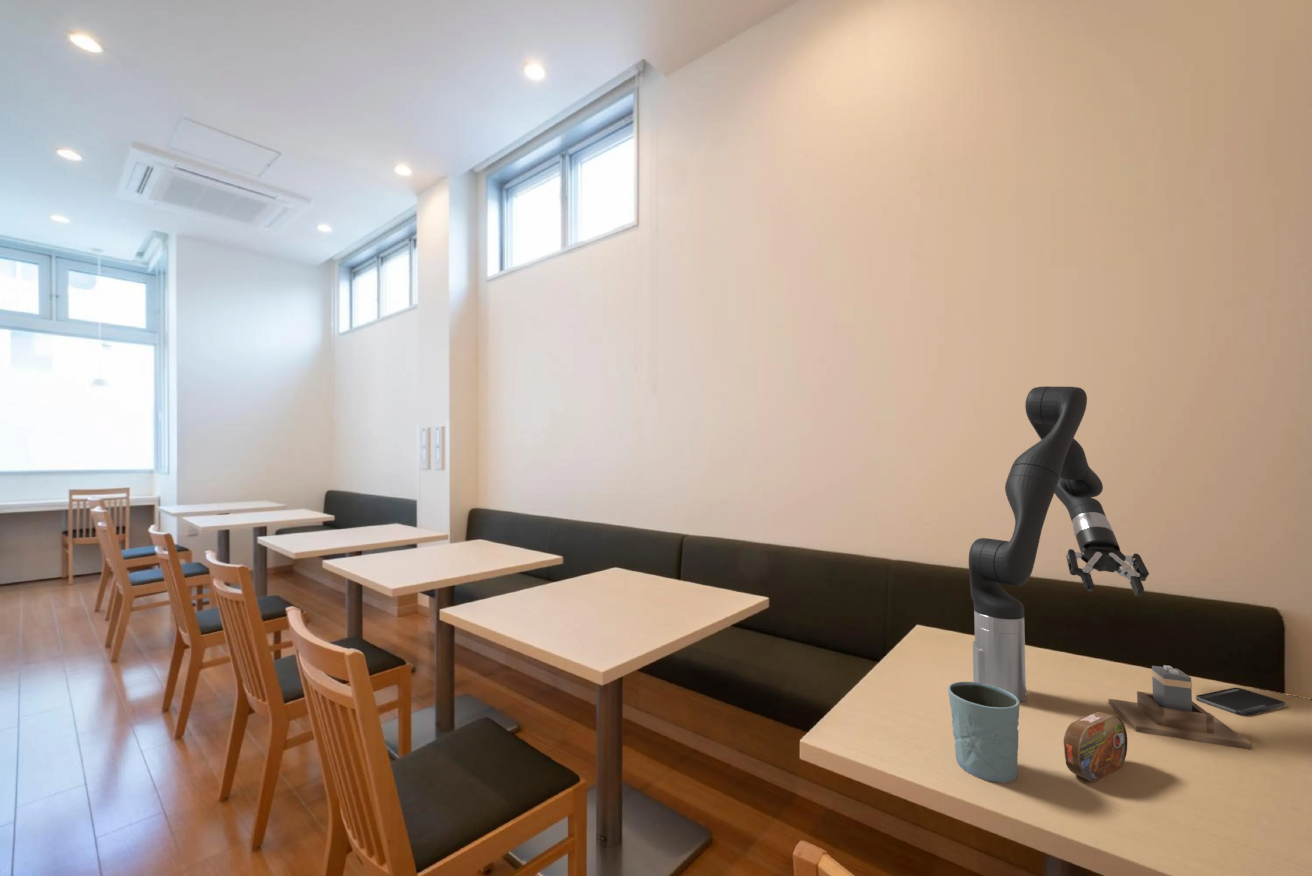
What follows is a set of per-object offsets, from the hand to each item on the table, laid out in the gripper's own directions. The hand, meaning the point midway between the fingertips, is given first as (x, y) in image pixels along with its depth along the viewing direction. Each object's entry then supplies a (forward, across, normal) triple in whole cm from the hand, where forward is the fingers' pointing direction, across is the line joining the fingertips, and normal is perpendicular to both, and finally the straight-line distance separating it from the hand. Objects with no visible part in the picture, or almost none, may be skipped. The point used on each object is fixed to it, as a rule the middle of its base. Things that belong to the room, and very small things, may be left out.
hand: (1115, 592), depth 119 cm
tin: (+45, -17, -14) cm, 50 cm away
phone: (+15, +20, +15) cm, 30 cm away
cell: (+27, +2, +2) cm, 27 cm away
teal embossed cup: (+49, -34, -18) cm, 63 cm away
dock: (+27, +3, +2) cm, 28 cm away
